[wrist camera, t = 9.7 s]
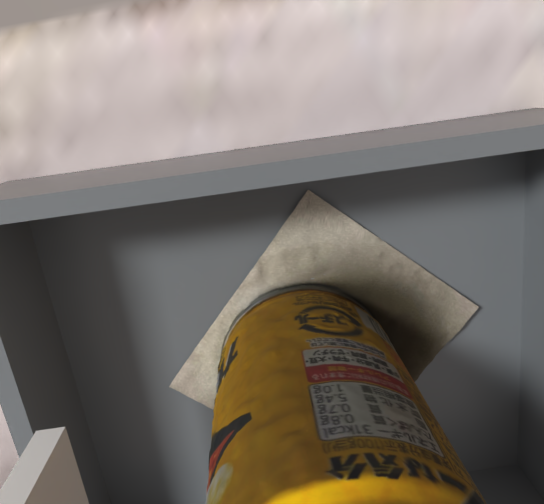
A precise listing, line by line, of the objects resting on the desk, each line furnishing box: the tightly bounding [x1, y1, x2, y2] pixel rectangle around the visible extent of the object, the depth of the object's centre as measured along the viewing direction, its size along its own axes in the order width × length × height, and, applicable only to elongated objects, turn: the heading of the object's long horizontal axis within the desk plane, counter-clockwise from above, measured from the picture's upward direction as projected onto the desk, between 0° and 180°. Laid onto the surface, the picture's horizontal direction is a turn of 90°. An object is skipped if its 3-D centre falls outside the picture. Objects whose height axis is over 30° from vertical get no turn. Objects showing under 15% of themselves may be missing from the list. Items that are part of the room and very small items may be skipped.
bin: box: [0, 108, 544, 504], centre depth 16 cm, size 14×17×4 cm
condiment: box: [169, 190, 486, 504], centre depth 12 cm, size 7×8×12 cm
